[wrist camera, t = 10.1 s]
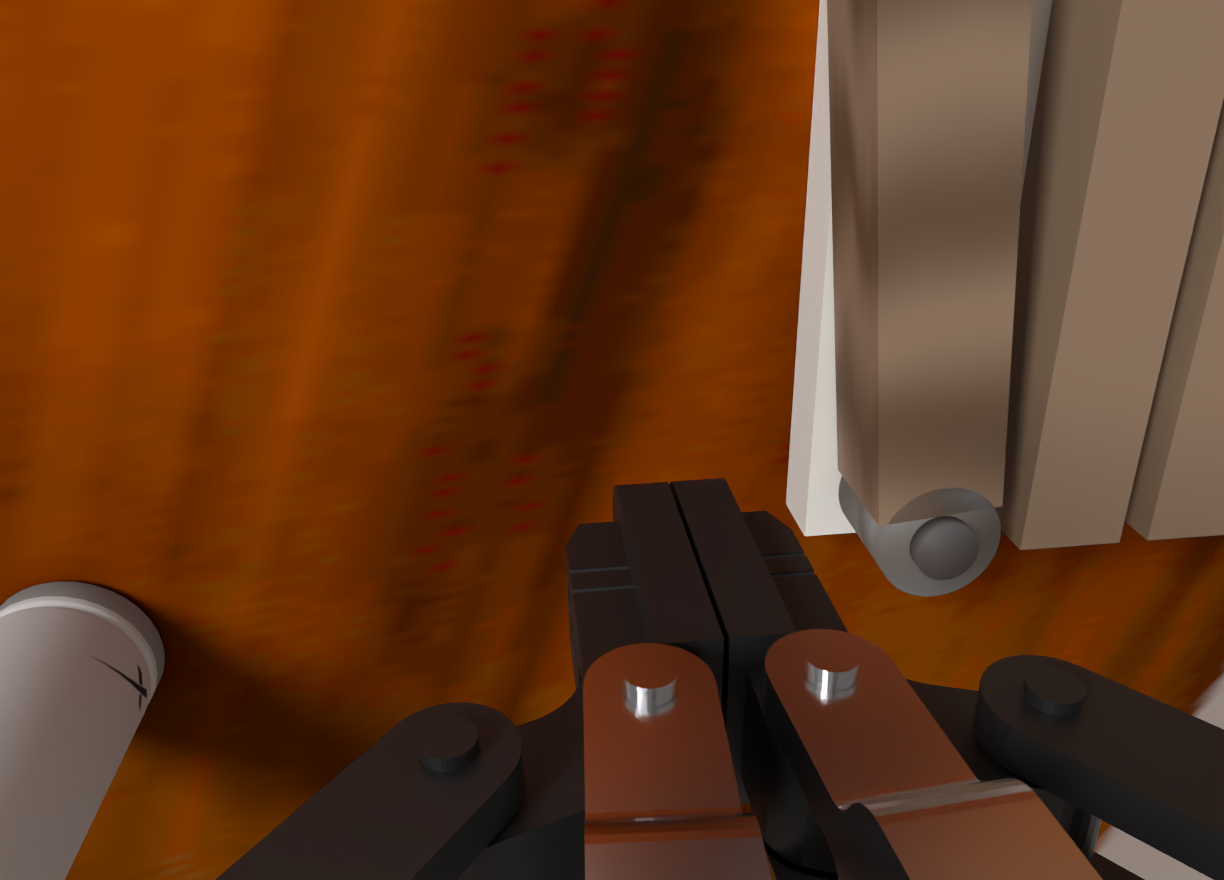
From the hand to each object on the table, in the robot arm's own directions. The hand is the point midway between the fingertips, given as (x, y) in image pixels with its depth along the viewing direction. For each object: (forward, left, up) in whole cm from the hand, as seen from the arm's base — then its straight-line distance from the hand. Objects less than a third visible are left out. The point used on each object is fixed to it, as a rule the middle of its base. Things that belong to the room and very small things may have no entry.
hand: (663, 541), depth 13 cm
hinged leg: (0, +10, -18) cm, 21 cm away
